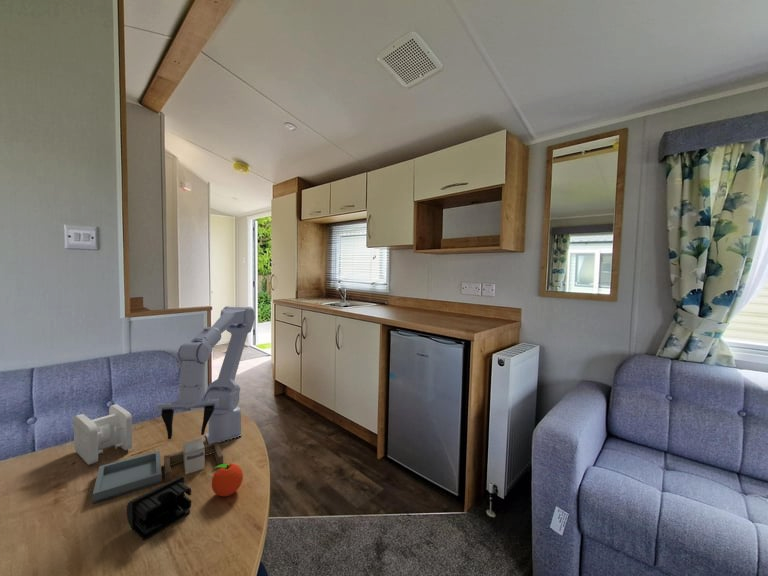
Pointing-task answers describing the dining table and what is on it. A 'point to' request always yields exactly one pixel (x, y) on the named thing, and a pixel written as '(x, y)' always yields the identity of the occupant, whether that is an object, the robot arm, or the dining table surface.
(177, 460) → the walnut bay
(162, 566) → the dining table surface
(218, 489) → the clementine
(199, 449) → the box
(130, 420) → the cable organizer
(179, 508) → the end cap
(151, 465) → the slate tray
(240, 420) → the robot arm
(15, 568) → the dining table surface
